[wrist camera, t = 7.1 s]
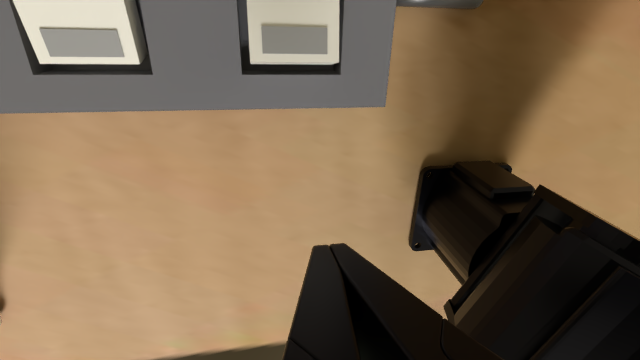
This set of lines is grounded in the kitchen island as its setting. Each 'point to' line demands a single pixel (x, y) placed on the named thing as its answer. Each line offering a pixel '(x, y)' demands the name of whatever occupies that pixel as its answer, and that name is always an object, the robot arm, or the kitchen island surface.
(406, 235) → the kitchen island surface
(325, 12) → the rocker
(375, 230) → the kitchen island surface
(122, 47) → the rocker middle
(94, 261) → the kitchen island surface
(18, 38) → the rocker switch panel
